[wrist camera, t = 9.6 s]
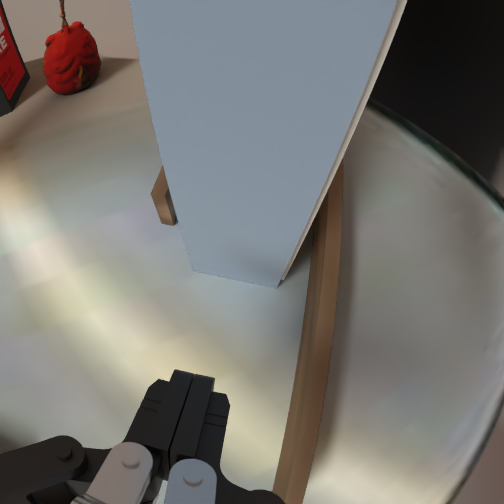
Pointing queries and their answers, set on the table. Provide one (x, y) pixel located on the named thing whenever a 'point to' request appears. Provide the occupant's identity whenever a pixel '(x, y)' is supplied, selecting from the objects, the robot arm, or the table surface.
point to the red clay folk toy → (70, 58)
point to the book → (256, 116)
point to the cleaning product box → (10, 67)
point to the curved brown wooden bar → (312, 339)
